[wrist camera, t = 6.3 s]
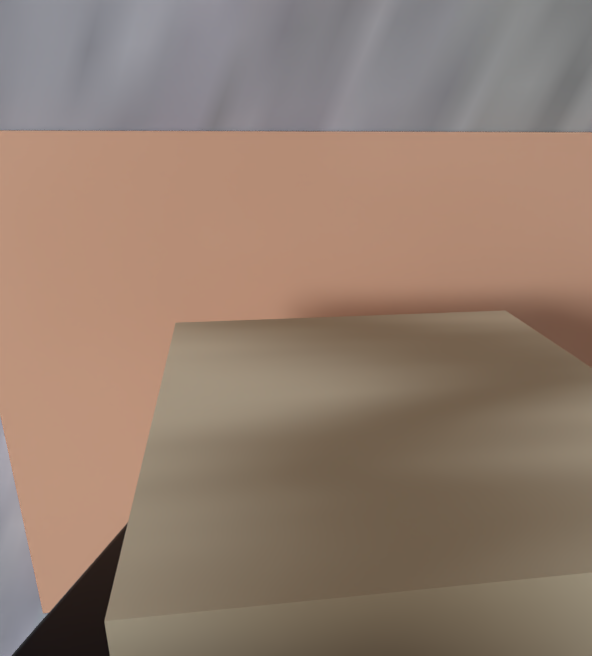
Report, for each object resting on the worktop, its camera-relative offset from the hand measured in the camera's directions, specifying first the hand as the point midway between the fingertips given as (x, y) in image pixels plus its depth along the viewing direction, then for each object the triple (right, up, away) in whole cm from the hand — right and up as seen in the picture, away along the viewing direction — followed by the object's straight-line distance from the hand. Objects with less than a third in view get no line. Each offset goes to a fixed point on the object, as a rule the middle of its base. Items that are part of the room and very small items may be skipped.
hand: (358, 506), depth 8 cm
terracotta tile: (-1, +1, +4) cm, 4 cm away
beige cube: (0, 0, +1) cm, 1 cm away
